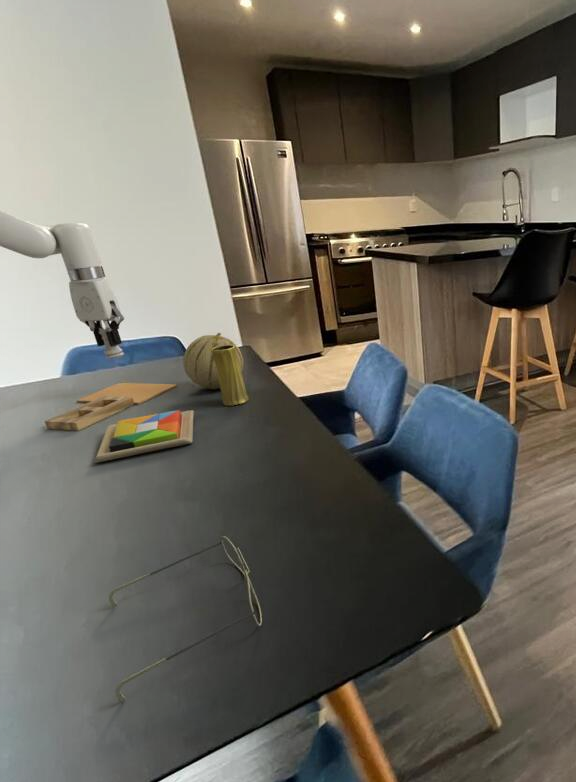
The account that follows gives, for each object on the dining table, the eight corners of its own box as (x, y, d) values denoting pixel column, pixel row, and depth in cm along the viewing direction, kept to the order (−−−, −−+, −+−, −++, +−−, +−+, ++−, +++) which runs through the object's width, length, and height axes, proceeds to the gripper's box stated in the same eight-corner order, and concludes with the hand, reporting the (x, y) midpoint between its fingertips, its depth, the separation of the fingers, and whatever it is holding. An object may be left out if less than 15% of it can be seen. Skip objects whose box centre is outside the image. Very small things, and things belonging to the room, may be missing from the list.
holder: (47, 429, 115) (44, 421, 114) (106, 403, 130) (103, 396, 129) (78, 430, 113) (75, 422, 112) (134, 404, 128) (132, 397, 127)
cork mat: (77, 402, 132) (76, 400, 132) (120, 384, 144) (119, 382, 144) (139, 404, 127) (138, 402, 127) (177, 386, 140) (177, 384, 140)
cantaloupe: (184, 388, 137) (169, 336, 132) (236, 375, 146) (224, 325, 141) (201, 401, 127) (186, 344, 121) (256, 385, 136) (245, 332, 130)
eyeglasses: (272, 628, 56) (263, 594, 54) (119, 704, 48) (102, 667, 46) (237, 556, 68) (229, 526, 66) (111, 607, 60) (97, 574, 58)
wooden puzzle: (94, 467, 95) (87, 451, 94) (111, 431, 112) (106, 417, 110) (192, 446, 102) (188, 431, 100) (195, 415, 118) (191, 401, 116)
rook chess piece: (108, 360, 130) (96, 330, 127) (103, 358, 133) (92, 329, 130) (126, 355, 133) (116, 326, 130) (122, 353, 136) (111, 325, 133)
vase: (218, 403, 124) (204, 349, 119) (239, 396, 129) (227, 343, 123) (232, 408, 121) (218, 352, 116) (253, 399, 126) (241, 345, 120)
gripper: (47, 277, 123) (72, 348, 130) (100, 276, 120) (124, 349, 127) (74, 273, 130) (97, 341, 137) (125, 271, 126) (146, 341, 133)
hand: (109, 344), depth 132 cm, fingers closed on rook chess piece, 3 cm apart
